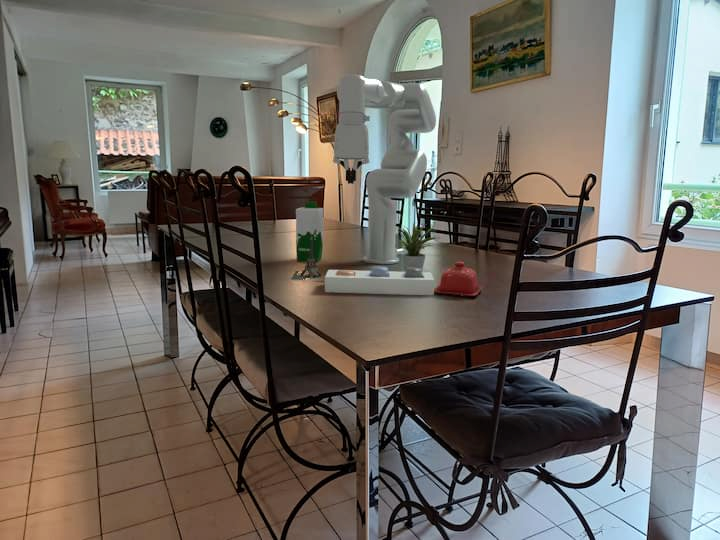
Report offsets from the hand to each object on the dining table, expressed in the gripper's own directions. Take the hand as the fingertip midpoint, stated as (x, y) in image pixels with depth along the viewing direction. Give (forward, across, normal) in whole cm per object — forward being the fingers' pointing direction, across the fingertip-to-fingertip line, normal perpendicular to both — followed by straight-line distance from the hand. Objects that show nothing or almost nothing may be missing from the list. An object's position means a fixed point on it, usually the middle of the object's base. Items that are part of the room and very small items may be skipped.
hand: (350, 183), depth 155 cm
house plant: (+27, -19, +2) cm, 33 cm away
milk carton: (+27, +15, -19) cm, 36 cm away
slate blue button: (+24, -9, +22) cm, 34 cm away
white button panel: (+27, -9, +22) cm, 36 cm away
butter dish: (+28, -30, +23) cm, 47 cm away
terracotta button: (+26, 0, +22) cm, 34 cm away
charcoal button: (+25, -18, +22) cm, 38 cm away
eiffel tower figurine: (+28, +11, +7) cm, 31 cm away
